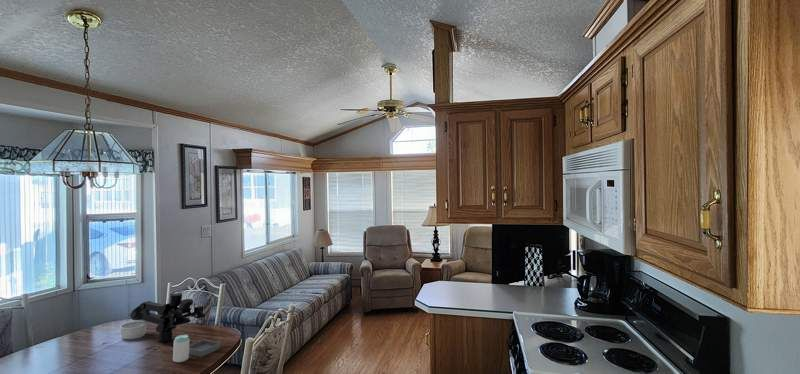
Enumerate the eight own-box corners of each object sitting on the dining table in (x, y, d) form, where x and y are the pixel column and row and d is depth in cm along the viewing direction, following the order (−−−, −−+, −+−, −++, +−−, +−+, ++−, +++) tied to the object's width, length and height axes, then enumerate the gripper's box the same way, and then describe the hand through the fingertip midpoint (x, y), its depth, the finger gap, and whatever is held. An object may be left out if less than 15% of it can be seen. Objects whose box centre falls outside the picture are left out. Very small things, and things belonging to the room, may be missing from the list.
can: (191, 359, 192) (192, 335, 192) (178, 364, 186) (179, 340, 186) (183, 356, 195) (184, 333, 196) (169, 361, 189) (170, 337, 189)
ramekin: (151, 335, 222) (151, 323, 222) (125, 342, 211) (126, 330, 211) (140, 330, 229) (141, 319, 229) (115, 337, 218) (116, 325, 218)
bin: (183, 352, 199) (183, 347, 199) (203, 344, 211) (203, 339, 211) (201, 357, 194) (201, 351, 195) (220, 348, 206) (220, 342, 206)
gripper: (163, 302, 202) (183, 308, 196) (194, 295, 220) (213, 299, 214) (162, 323, 202) (181, 329, 196) (192, 313, 220) (211, 319, 213)
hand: (197, 318), depth 205 cm, fingers open, 9 cm apart
